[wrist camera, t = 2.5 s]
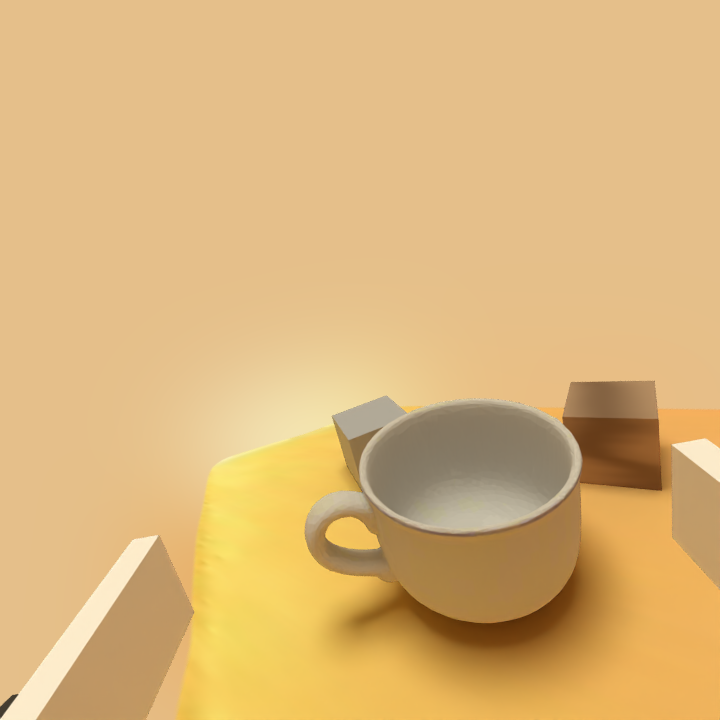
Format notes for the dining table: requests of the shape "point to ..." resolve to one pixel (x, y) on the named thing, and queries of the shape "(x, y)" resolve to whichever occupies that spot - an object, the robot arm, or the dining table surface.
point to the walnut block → (616, 432)
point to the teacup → (464, 509)
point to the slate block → (363, 428)
